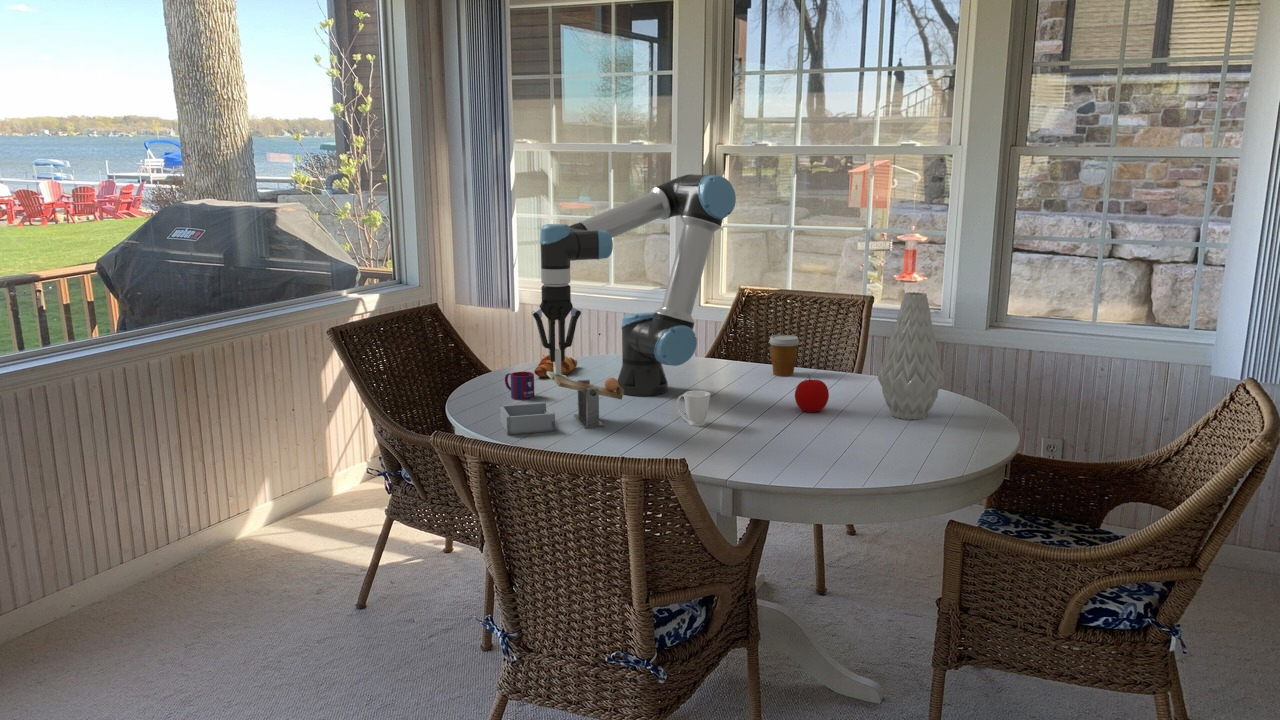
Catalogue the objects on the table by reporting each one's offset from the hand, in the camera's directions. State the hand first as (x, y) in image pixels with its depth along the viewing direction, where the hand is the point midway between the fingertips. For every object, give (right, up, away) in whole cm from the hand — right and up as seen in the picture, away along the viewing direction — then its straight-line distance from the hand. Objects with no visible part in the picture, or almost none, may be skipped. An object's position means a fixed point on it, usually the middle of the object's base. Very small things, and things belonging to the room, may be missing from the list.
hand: (557, 373), depth 252 cm
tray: (-7, -14, -7) cm, 17 cm away
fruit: (+68, -10, +8) cm, 70 cm away
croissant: (-5, -1, +54) cm, 54 cm away
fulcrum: (+8, -13, -3) cm, 15 cm away
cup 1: (-13, -7, +25) cm, 29 cm away
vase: (+93, -12, +2) cm, 94 cm away
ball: (+14, -3, -3) cm, 15 cm away
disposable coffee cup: (+67, -1, +52) cm, 85 cm away
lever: (+7, -3, -1) cm, 8 cm away
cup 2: (+35, -13, -4) cm, 38 cm away
